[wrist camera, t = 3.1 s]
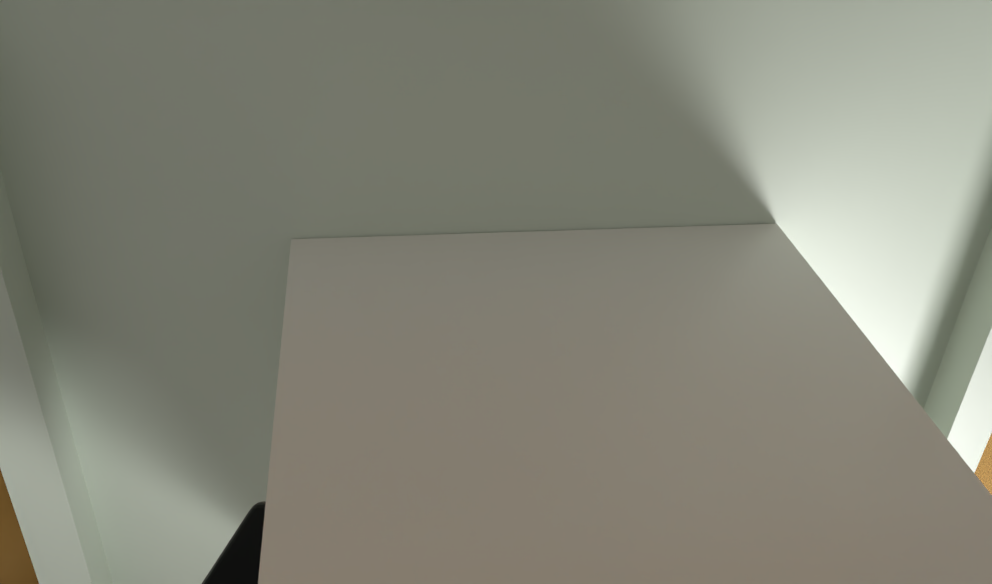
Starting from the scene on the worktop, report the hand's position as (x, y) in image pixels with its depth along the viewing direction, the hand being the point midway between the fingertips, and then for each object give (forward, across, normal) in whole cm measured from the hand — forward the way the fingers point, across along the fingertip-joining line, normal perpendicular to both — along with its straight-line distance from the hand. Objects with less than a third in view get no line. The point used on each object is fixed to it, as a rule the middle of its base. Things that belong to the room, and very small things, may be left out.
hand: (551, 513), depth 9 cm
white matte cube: (+1, 0, 0) cm, 1 cm away
